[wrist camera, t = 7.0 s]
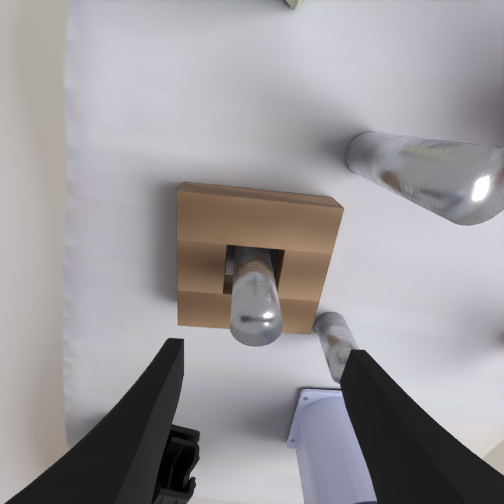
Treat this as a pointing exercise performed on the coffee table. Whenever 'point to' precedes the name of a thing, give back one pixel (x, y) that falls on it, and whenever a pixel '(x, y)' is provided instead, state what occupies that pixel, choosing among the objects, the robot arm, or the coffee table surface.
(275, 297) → the pin medium
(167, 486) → the end cap
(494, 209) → the pin long
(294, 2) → the skincare box
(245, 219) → the socket block
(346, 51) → the coffee table surface
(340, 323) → the pin short
